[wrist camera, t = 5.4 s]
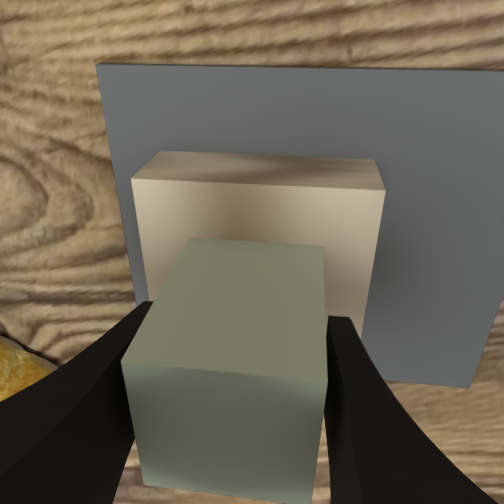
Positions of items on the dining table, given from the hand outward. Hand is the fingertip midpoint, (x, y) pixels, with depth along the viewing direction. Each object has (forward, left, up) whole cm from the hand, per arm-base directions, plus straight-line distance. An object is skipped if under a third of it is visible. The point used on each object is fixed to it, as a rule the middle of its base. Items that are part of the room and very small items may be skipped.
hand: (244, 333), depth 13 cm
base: (0, 0, -5) cm, 5 cm away
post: (0, 0, -2) cm, 2 cm away
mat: (-2, 0, -6) cm, 6 cm away
